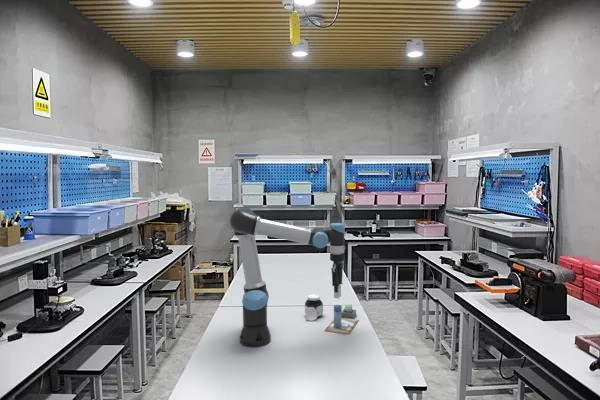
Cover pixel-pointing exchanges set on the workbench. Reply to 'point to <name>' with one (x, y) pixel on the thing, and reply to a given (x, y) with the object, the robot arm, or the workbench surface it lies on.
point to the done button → (348, 308)
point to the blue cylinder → (337, 316)
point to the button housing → (348, 314)
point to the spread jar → (313, 307)
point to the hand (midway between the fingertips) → (337, 297)
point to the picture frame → (343, 326)
